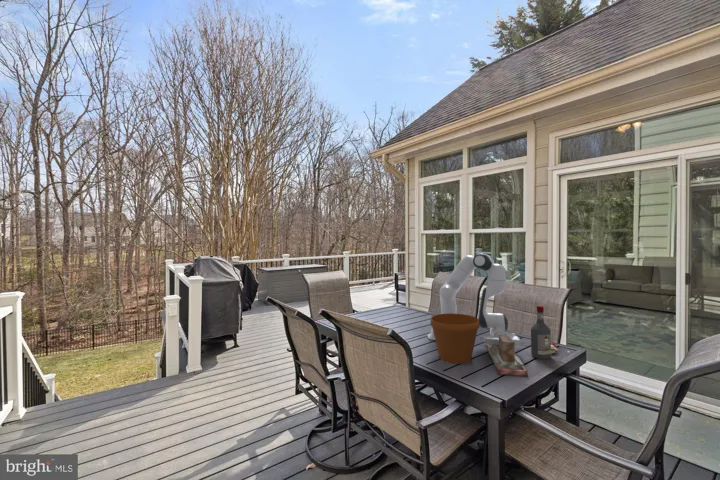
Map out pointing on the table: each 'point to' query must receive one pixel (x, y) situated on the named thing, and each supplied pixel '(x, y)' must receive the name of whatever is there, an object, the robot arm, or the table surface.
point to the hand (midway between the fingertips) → (504, 344)
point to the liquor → (540, 337)
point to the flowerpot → (455, 336)
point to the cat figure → (553, 348)
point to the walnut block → (506, 349)
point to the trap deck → (506, 363)
